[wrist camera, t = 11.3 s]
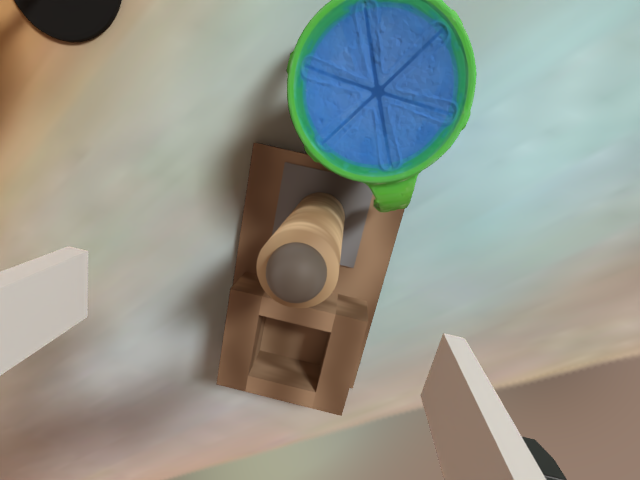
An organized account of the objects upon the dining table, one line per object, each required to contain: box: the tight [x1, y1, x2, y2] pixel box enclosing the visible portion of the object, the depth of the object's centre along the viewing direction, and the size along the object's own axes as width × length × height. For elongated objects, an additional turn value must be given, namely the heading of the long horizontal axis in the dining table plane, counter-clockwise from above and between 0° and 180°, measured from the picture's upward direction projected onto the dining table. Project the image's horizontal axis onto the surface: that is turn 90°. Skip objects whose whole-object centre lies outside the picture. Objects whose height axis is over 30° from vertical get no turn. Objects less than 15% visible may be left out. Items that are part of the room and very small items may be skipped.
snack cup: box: [287, 0, 477, 212], centre depth 24 cm, size 16×11×10 cm
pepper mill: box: [256, 192, 345, 308], centre depth 23 cm, size 4×4×15 cm
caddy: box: [217, 143, 405, 415], centre depth 31 cm, size 14×22×5 cm, turn 168°
